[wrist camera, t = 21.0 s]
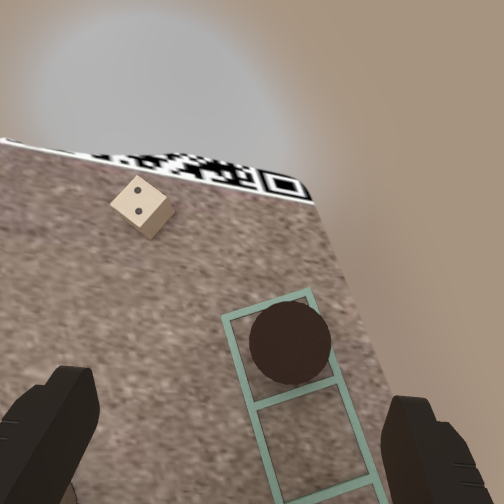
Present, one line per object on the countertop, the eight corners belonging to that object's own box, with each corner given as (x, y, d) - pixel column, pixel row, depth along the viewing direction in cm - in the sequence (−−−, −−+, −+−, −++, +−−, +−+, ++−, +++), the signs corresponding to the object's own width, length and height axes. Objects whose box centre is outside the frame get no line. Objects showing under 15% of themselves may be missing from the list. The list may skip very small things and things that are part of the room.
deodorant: (305, 380, 41) (328, 389, 27) (250, 373, 42) (244, 379, 27) (309, 324, 43) (333, 305, 29) (256, 318, 43) (254, 296, 29)
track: (419, 591, 36) (421, 594, 36) (312, 632, 35) (313, 635, 35) (309, 287, 44) (310, 287, 44) (221, 315, 43) (220, 315, 43)
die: (150, 240, 46) (139, 227, 42) (123, 218, 47) (109, 203, 43) (175, 212, 47) (166, 197, 43) (147, 191, 48) (136, 174, 44)
